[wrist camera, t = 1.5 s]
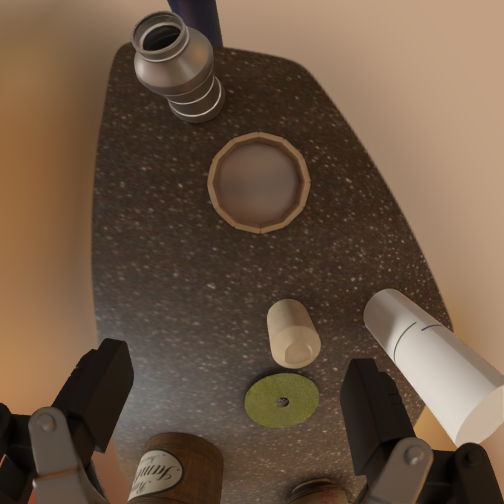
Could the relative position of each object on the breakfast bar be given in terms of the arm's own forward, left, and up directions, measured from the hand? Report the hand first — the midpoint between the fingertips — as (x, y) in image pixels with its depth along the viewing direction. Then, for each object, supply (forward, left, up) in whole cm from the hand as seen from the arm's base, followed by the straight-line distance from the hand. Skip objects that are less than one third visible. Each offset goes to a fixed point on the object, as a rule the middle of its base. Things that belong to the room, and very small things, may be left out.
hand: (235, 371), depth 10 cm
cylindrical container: (+16, +17, -29) cm, 37 cm away
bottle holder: (-6, +4, -29) cm, 30 cm away
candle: (+12, +3, -29) cm, 32 cm away
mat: (+25, -1, -29) cm, 39 cm away
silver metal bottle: (-18, 0, -29) cm, 34 cm away
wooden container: (+36, -22, -29) cm, 52 cm away
